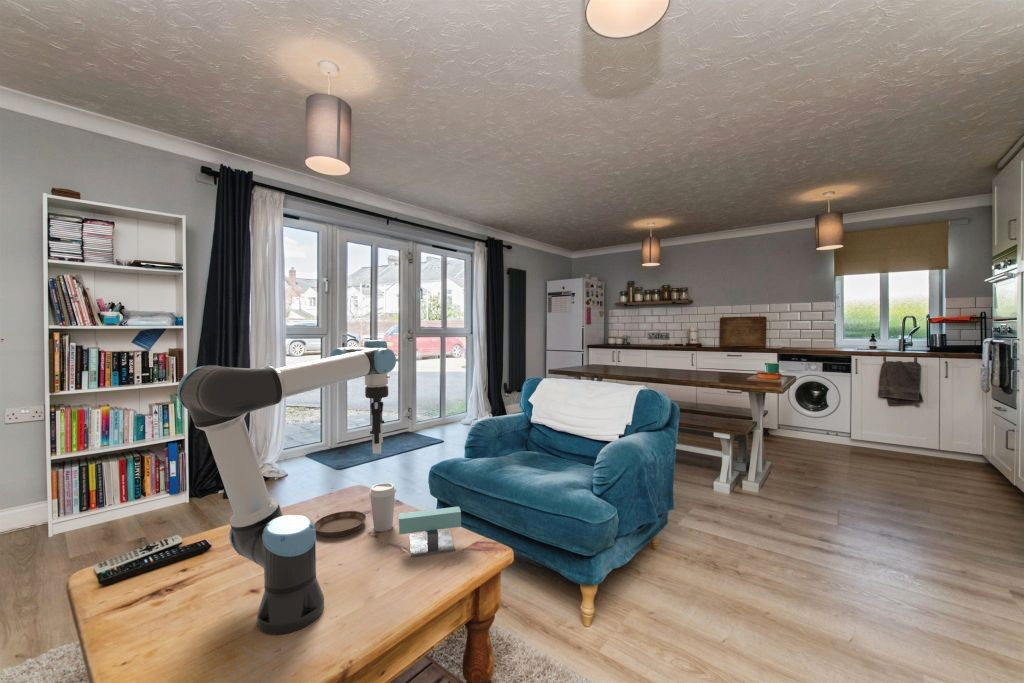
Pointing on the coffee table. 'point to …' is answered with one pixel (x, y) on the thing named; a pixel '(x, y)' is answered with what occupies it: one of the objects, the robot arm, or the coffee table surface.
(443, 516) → the bar
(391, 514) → the coffee cup
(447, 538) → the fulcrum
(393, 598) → the coffee table surface
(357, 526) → the plant saucer
